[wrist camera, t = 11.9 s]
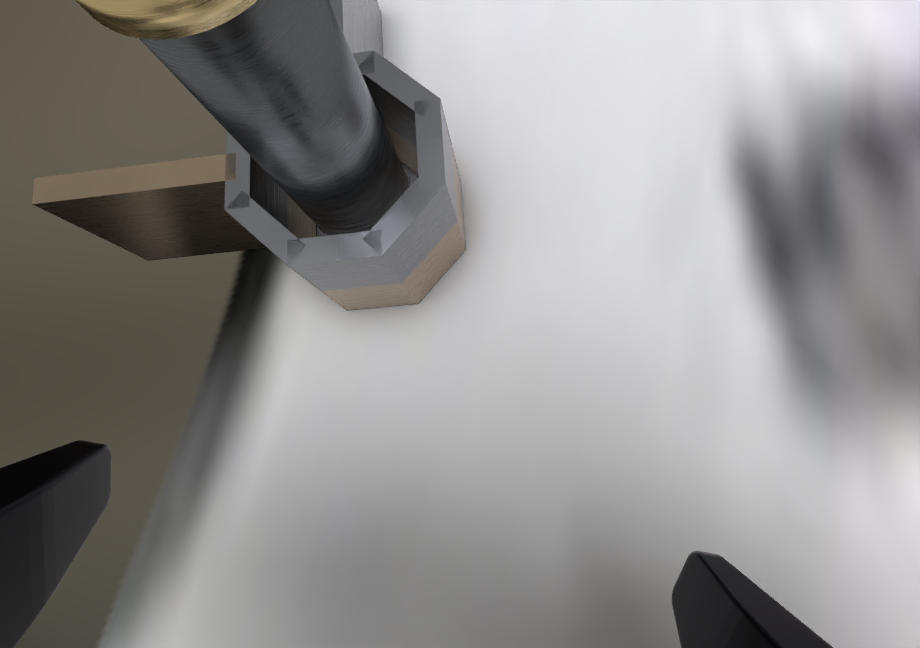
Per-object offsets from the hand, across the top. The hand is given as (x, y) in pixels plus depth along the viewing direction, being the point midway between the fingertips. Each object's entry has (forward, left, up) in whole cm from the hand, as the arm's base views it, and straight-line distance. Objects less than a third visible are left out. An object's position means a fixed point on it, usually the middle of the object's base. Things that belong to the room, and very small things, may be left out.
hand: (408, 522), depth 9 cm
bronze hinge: (+12, +5, -9) cm, 16 cm away
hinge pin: (+9, +3, -9) cm, 13 cm away
